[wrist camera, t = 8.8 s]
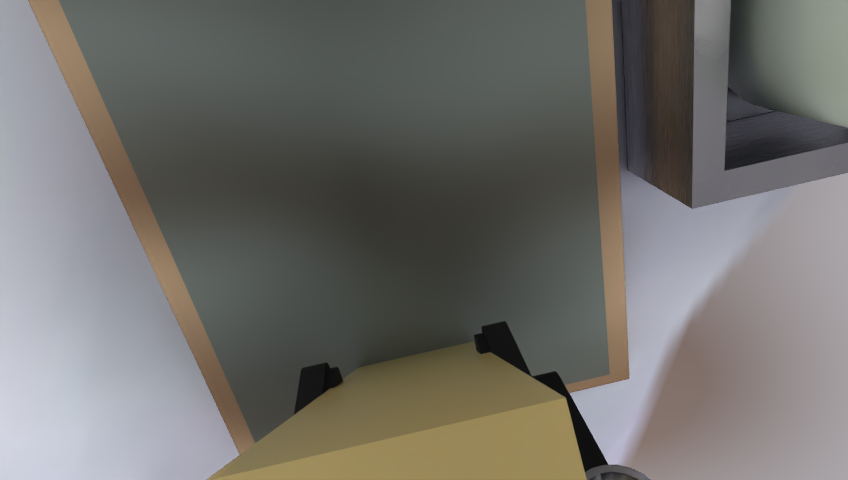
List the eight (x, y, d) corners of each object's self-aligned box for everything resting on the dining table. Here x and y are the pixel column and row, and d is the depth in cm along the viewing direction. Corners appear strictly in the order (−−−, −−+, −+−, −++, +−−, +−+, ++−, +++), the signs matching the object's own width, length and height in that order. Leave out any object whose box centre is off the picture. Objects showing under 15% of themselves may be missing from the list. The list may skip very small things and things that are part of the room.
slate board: (-28, -158, 10) (-70, -176, 9) (584, -286, 10) (609, -317, 9) (250, 454, 17) (243, 483, 16) (620, 366, 17) (637, 389, 16)
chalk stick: (358, 367, 14) (205, 480, 5) (472, 341, 15) (566, 397, 5) (382, 488, 14) (271, 905, 4) (500, 461, 14) (670, 806, 4)
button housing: (615, -139, 11) (697, -186, 9) (927, -206, 12) (1104, -273, 9) (627, 170, 14) (692, 208, 12) (877, 113, 14) (998, 137, 12)
